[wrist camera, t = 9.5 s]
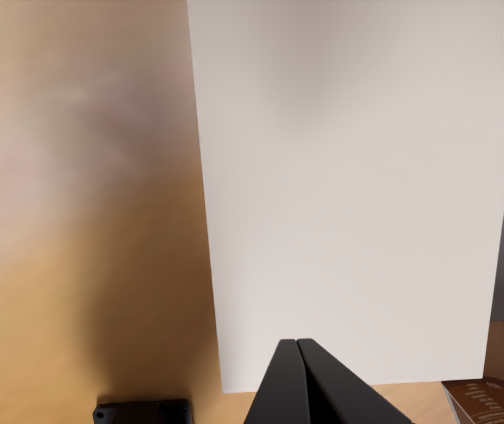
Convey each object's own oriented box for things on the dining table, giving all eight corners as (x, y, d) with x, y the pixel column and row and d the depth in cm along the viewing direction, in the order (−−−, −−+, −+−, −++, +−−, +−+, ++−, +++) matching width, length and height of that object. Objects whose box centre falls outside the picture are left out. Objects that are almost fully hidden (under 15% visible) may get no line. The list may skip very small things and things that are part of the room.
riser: (440, 334, 22) (482, 378, 18) (226, 346, 22) (222, 393, 18) (475, -57, 16) (545, -115, 13) (194, -41, 16) (178, -94, 13)
